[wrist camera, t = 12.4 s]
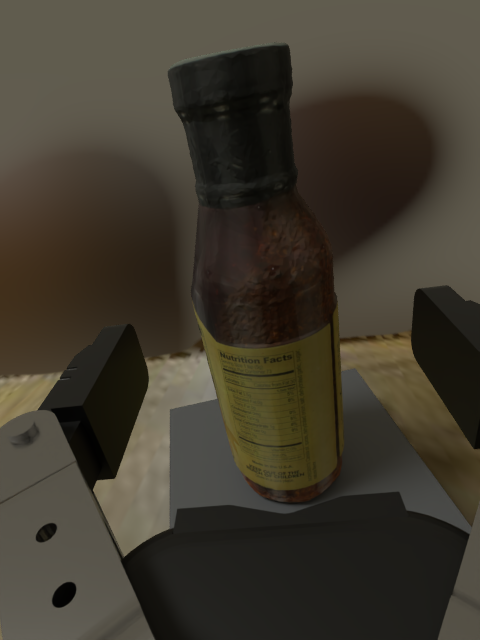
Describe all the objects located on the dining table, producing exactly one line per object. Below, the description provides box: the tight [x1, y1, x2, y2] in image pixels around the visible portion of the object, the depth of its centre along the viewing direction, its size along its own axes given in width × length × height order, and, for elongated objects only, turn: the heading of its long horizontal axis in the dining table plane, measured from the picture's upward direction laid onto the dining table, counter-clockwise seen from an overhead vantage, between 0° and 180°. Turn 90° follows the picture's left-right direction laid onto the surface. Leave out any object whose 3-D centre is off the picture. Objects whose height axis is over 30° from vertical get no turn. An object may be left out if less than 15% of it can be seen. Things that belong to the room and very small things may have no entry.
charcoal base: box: [170, 369, 472, 534], centre depth 24 cm, size 14×14×4 cm
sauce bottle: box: [168, 43, 344, 503], centre depth 18 cm, size 7×6×20 cm
